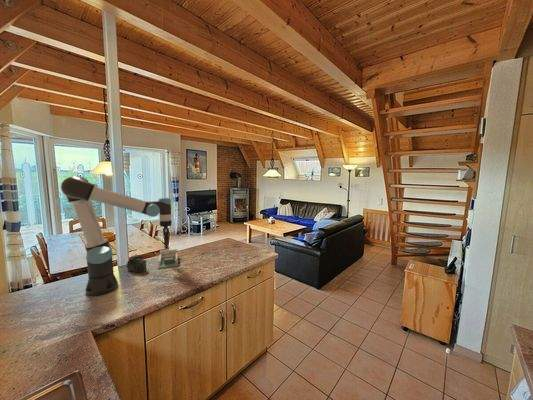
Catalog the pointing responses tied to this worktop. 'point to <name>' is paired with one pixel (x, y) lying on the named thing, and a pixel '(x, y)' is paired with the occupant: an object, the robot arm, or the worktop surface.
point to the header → (161, 260)
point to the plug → (169, 259)
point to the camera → (136, 264)
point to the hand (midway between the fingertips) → (166, 250)
